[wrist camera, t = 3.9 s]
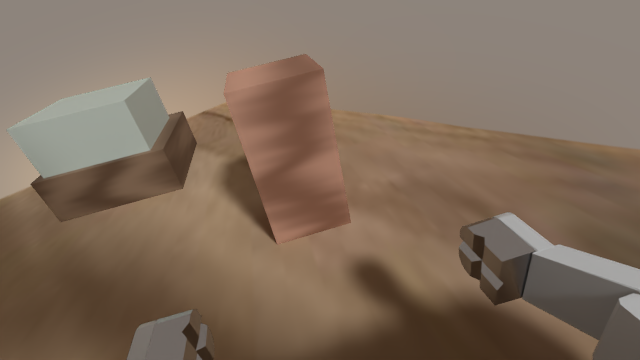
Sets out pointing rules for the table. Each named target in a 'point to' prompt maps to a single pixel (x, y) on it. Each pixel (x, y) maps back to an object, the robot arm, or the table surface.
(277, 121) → the terracotta tall block
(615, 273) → the robot arm
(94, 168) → the walnut base block
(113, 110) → the sage top block
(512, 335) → the table surface
